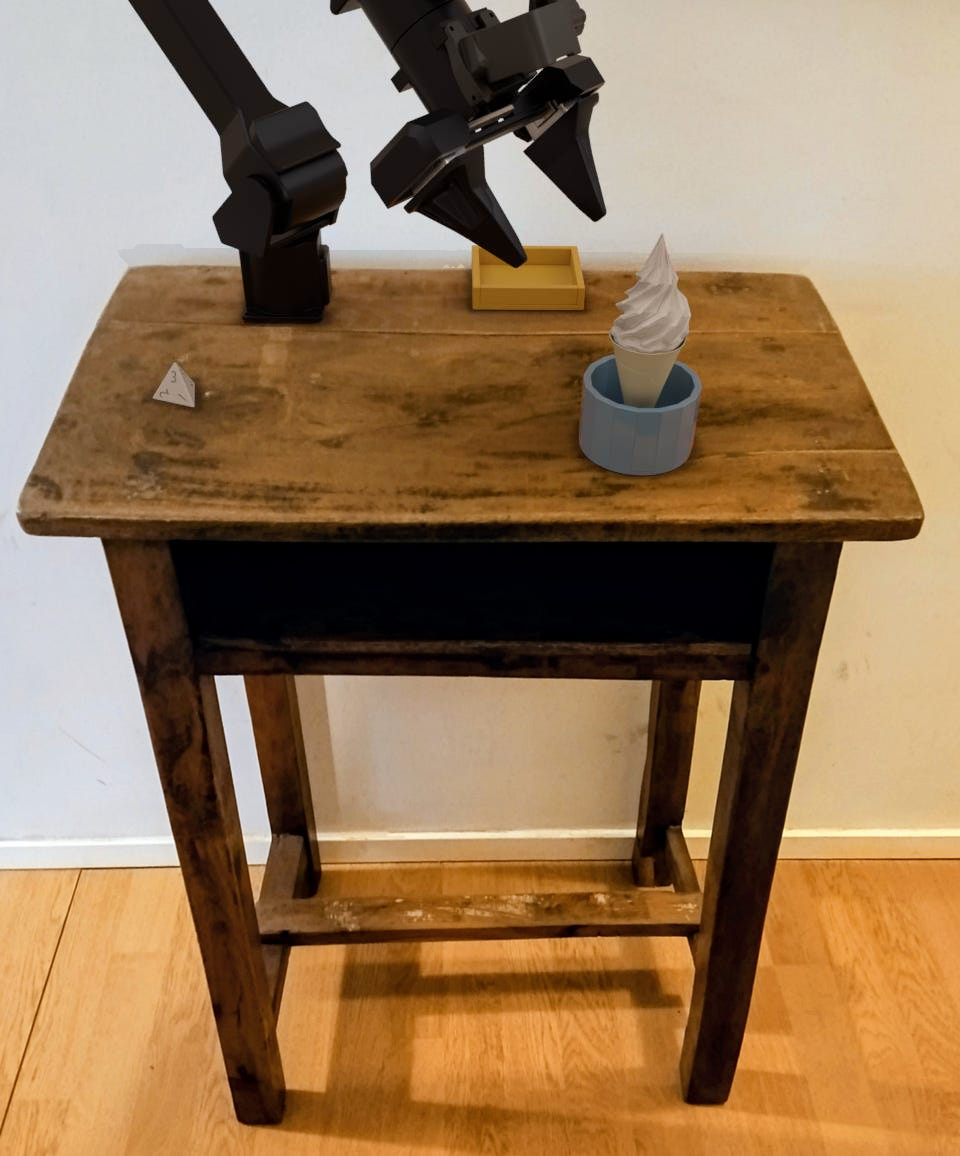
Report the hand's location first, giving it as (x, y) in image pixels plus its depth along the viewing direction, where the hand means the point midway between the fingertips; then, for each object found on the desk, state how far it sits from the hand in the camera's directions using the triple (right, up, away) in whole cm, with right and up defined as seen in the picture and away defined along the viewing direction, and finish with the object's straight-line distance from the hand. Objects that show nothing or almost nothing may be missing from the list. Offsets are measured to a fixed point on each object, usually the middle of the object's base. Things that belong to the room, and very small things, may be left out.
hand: (563, 240), depth 75 cm
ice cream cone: (+5, -13, +5) cm, 15 cm away
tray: (-2, +3, +23) cm, 24 cm away
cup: (+5, -13, +5) cm, 15 cm away
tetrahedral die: (-27, -9, +10) cm, 30 cm away
